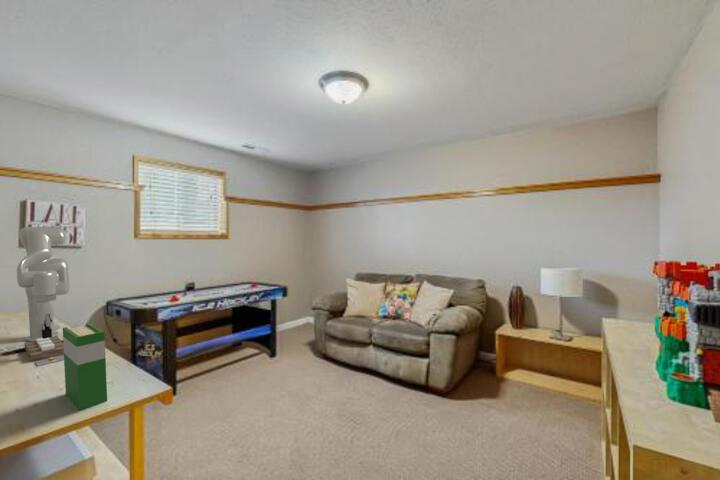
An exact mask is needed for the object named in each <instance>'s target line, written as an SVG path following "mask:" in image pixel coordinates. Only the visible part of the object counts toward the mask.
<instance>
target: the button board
mask: <svg viewBox="0 0 720 480" xmlns="http://www.w3.org/2000/svg"><path fill="white" fill-rule="evenodd" d="M49 339H50V340H51V341H52V343H53V344H54V345H55V348H54V349H49V350H45V351H41V350H40V348H39V347H38V344H36V340H35V341H25V342H24V343H23V345H24V350H25V351H26V354H27V356H28V358H29V360H30V362H31V363H35V361H39V360H43V359H48V358H51V357H56V356H61V355H64V346H63V341H62V340H61V339H60V338H59V337H58V335H57V336H55V337H51V338H49Z"/></svg>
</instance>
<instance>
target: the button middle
mask: <svg viewBox="0 0 720 480" xmlns="http://www.w3.org/2000/svg"><path fill="white" fill-rule="evenodd" d="M50 343H52V341H51V340H47V341H42V342H38V347H39V348H40V345H45V344H50Z"/></svg>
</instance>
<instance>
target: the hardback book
mask: <svg viewBox="0 0 720 480" xmlns="http://www.w3.org/2000/svg"><path fill="white" fill-rule="evenodd" d="M105 334H106V333H105V331H104V330H103V329H101V328H99V327H97V326H95V325H94V324H91V323H90V322H87V323H86V322H85V325H82V326H77V327H73V328H72V327H71V328H68V327H67V326H64V327H62V340H63V341H62V342H63V346H64V360H63V363H64V367H63V368H64V383H65V386H64V387H65V395H66V397H67V398H68V399H69V401H71V403H72V404H73V405H74V406H75V407H76V408H77V410H78V411H79V412H81V411H83V410H86V409H89V408H92V407H94V406H97V405H100V404H103V403H106V402H108V388H107V387H108V385H107V363H106V362H107V361H106V359H107V358H106V340H105V338H106V337H105Z"/></svg>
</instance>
